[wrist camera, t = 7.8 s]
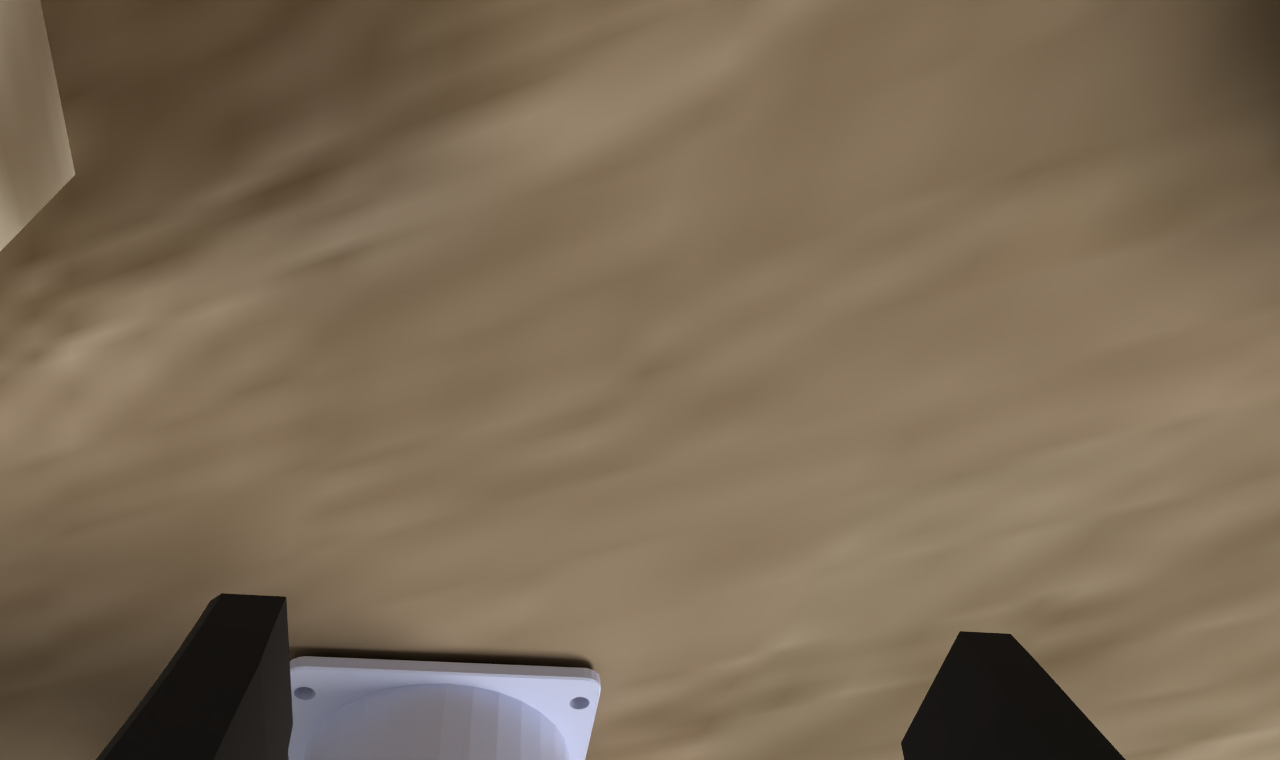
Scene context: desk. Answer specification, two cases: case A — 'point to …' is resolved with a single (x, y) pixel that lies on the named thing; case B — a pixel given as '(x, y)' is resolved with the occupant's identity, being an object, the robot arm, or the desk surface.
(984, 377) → the desk surface
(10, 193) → the birch base block
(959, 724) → the robot arm
